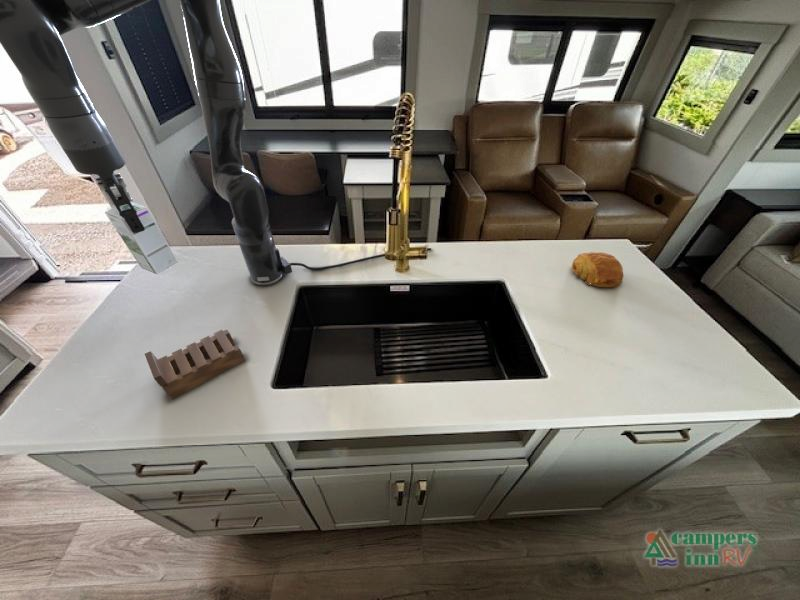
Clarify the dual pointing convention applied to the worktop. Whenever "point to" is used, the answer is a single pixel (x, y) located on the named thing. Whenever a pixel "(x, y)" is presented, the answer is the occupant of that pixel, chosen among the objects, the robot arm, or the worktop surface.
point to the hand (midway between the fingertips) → (135, 223)
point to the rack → (192, 355)
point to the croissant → (598, 269)
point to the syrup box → (144, 239)
